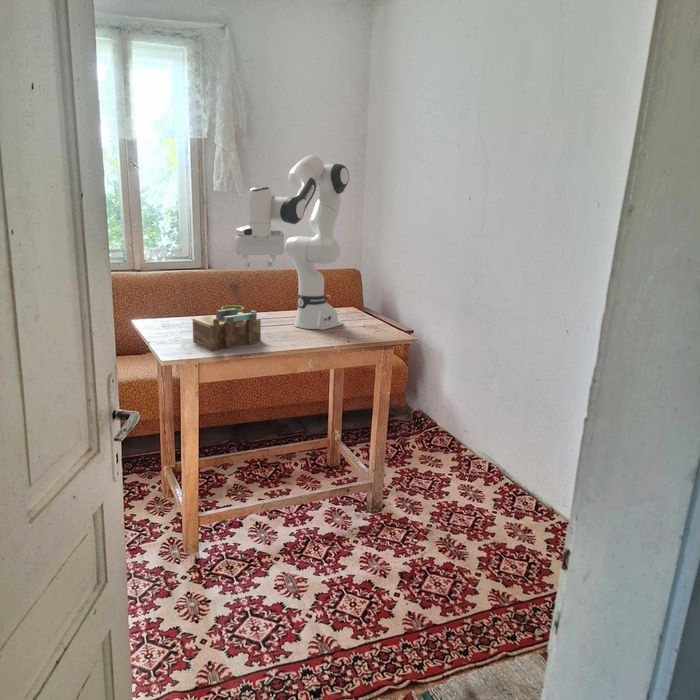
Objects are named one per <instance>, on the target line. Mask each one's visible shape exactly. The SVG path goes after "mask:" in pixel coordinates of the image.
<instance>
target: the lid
mask: <svg viewBox="0 0 700 700" xmlns="http://www.w3.org/2000/svg"><path fill="white" fill-rule="evenodd" d="M239 314H246V313H244V312H239V313H237V309H235V308H231V309H216V310H215V315H210V316H208V315H207V316H202V317H194V318H192V322H193V321H194V322H196V323H199V324H202V325H204V326H207V327H209V328H210V325H211V324H213V319H219V325H218V326H217V327H224V323H225V322H224V316H231V315H239ZM261 320H262V319H261V318H260V317H257V319H256V320H254V322H258V321H261ZM261 322H262V321H261ZM231 325H233V326H236V327H239V326H245V325H246V320H242V321H235V322H233V323H232V324H231Z"/></svg>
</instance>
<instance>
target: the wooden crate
mask: <svg viewBox="0 0 700 700" xmlns="http://www.w3.org/2000/svg"><path fill="white" fill-rule="evenodd" d="M254 320H256V314H250V319H249V320H246V325H245V326H239V327H236V326H233V325H231V324H232V323H233V317H227V322H228V323H226V322H225V323H224V327H217V326H218V325H219V319H213V324H211V325H210V328H209V327H207V326H204V325H202V324H199V323H196V322H194V321H193V320H192V341H193V342H195V343H197V344H200V345H201V346H203V347H206V348H208V349H209V350H210V351H212V352H215V351H219V348H220V349H221V348H225V349H231V348H232V346H237V345H243V344H247V345H254V344H255V343H256V342H260V341H261V330H262V328H261V327H262V326H261V325H262V323H261V322H262V321H258V322H254ZM254 342H255V343H254Z"/></svg>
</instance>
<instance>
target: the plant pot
mask: <svg viewBox="0 0 700 700" xmlns="http://www.w3.org/2000/svg"><path fill="white" fill-rule="evenodd" d="M231 308H235V309H237V313H239V312H242V313H244V309H245V307H244V306H242V305H232V304H231V305H224V306H221V310H223V309H231Z"/></svg>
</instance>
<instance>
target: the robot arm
mask: <svg viewBox="0 0 700 700" xmlns="http://www.w3.org/2000/svg"><path fill="white" fill-rule="evenodd" d="M287 176H288V177H287V181H288V184H289V186H290V188H291V189H292V191H294V192H295V193H297V194H296V195H294V196H276V195H275V194H273V193H272V191H271V189H270V187H269V186H265V185H264V186H263V185H262V186H254V187H252V188H250V189H249V191H248V199H247V213H248V218H247V225H244V226H240V227H237V228H235V230H234V232H235V236H234V237H233V239H232V240H233V241H232V253H233V254H234V255H236V256H241V259H242V261H243V262H244V268H250V267H251V262H249V261H248V256H270V259H269V261H267V263H266V264H267V267H268V268H271V267H273V266H274V264H273V263H274V262H275V260H276V256H282V255H284V254H285V257H287V258H288V259H289V260H290V262H291V263H292V264H293V266H294V267H295V270H296V273H297V278H298V293H297V301H296V302H297V311H296V318H295V322H294V324H293V325H294V327H297V328H300V329H306V330H307V329H308V330H320V331H321V330H327V329H331V328H334V327H335V328H336V327H340V326H343V325H344V322H343V321H341V320H340V319H339V316H338V311H337V309H336V308H334V307H333V306H332V305H330V304H329V303H328V302H327V300H328V301H330V300H331V299H332V296H331V295H330V294H326V295H325V293H324V292H325V291H324V290H325V278H324V275H323V274H322V273H321V272H319V271H318V270H317V269H316V268H315V265H314V264H320V265H329V264H336V263H337V262H338V261H339V259H340V258H341V254H342V248H341V246H340V243H339V242H338V240H336V239H335V236H334V229H335V225H336V221H337V218H338V215H339V213H340V207H341V203H342V198H341V194H342V193H344V191H345V189H346V188H347V186H348V184H349V181H350V173H349V170H348V168H347V166H345V165H343V164H341V163H335V164H334V163H333V164H331V163H325V164H324V161H323V160H322V158H321V157H319V156H318V155H315V154H309V155H307V156H305V157H303V158H302V159H300V160H299V161H298V162H297V163H296V164H295V165H294V166H293V167H292V168H291V170H290V171H289V173H288V175H287ZM318 191H319V196H318V198H317V200H316V201H315V203H314V207H313V209H312V212H311V214H310V218H309V220H308V224H309V228H310V230H311V231H312V232H313V233H315V235H314V236H304V235H297V236H291V237H288V238H287V240H286V241H284V240H285V234H284V232H282V231H281V230H272V222H274V223H275V222H276V223H286V224H292V225H296V224H298V223H299V222H300V221H301V220H302V219H303V218H304V216H305V212H306V209H307V208H308V206H309V204H310V202H311V200H312V199H313V197H314V195H315V194H316V192H318Z"/></svg>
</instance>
